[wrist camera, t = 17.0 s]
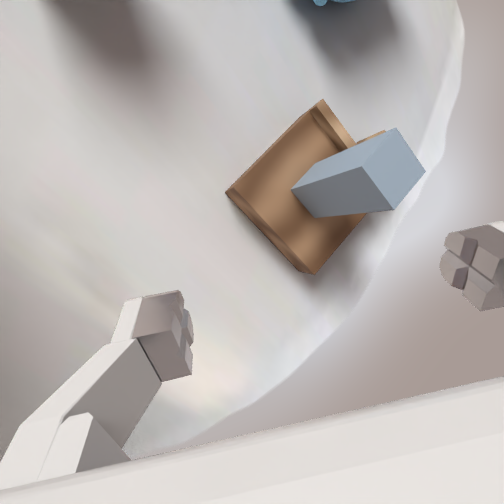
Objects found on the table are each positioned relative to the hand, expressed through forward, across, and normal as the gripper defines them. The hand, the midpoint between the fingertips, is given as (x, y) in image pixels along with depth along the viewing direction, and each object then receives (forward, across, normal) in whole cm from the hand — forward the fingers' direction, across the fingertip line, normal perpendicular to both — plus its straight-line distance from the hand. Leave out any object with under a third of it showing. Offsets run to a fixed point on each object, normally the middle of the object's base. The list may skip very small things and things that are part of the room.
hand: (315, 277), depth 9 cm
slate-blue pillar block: (+25, -8, +8) cm, 27 cm away
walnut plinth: (+28, -6, +10) cm, 31 cm away
